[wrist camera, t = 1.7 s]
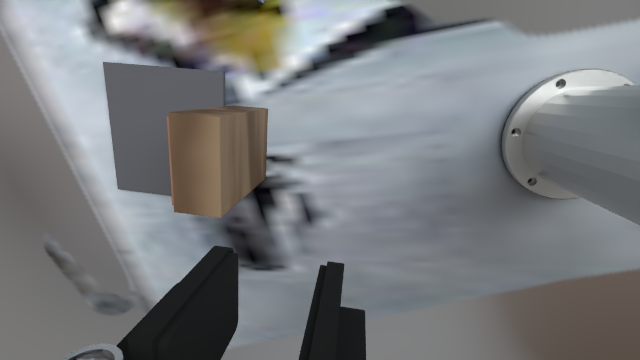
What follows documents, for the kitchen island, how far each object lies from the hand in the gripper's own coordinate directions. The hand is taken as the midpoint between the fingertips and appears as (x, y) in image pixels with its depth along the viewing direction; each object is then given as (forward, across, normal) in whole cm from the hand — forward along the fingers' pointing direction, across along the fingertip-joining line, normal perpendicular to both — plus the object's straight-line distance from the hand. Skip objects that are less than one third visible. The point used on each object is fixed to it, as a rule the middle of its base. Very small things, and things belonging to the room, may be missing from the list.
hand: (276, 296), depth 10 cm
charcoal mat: (+25, +20, 0) cm, 32 cm away
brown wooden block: (+25, +10, 0) cm, 27 cm away
